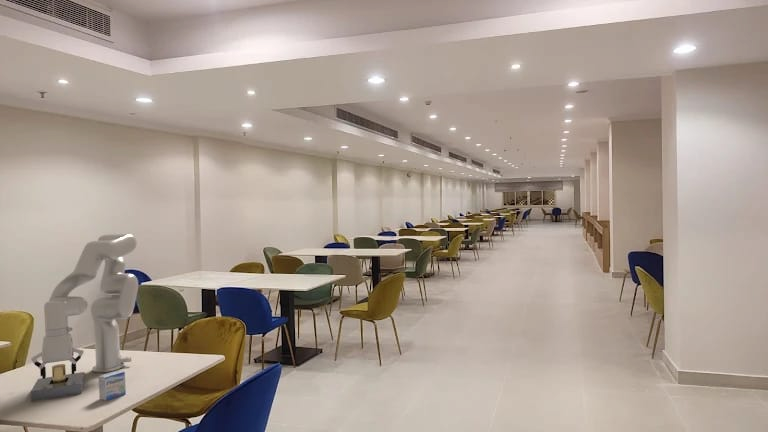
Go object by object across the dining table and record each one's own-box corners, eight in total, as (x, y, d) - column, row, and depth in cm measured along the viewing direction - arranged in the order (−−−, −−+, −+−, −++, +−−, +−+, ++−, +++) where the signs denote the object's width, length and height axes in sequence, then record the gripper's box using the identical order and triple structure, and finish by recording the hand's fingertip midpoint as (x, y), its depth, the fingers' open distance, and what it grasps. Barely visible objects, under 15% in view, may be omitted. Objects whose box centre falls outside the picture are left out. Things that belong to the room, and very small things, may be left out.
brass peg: (67, 388, 203) (65, 363, 203) (65, 391, 199) (64, 366, 199) (54, 390, 201) (52, 365, 201) (52, 393, 197) (51, 368, 197)
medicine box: (105, 401, 188) (104, 377, 188) (99, 399, 190) (97, 375, 190) (126, 394, 194) (125, 371, 194) (119, 392, 197) (118, 369, 197)
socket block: (84, 381, 211) (84, 371, 211) (81, 393, 196) (80, 383, 196) (38, 388, 204) (38, 378, 204) (31, 401, 189) (30, 391, 189)
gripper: (83, 327, 207) (85, 369, 207) (32, 333, 199) (34, 376, 200) (81, 331, 200) (83, 374, 200) (28, 337, 192) (30, 382, 193)
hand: (58, 375), depth 200 cm, fingers open, 9 cm apart
